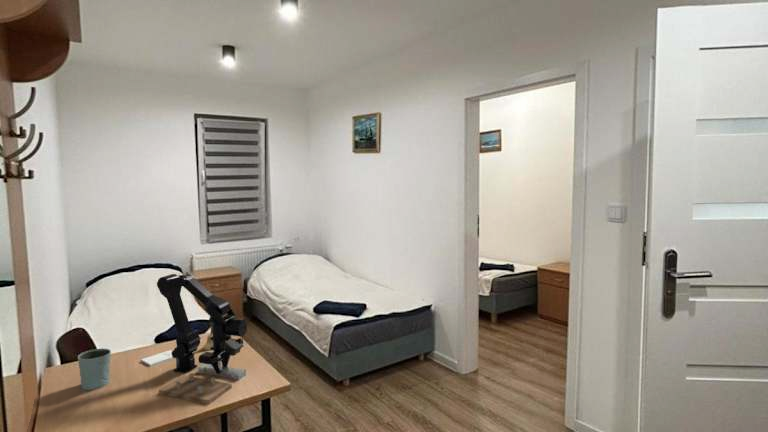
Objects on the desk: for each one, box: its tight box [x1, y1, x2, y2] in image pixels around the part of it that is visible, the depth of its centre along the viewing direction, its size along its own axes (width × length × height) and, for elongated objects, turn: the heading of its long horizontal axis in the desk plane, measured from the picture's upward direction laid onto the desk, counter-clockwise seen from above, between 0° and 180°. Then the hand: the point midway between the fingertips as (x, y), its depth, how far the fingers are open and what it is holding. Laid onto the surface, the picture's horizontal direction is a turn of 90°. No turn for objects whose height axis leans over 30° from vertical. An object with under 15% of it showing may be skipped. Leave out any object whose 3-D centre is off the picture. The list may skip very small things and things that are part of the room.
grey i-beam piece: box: [196, 363, 247, 381], centre depth 166 cm, size 20×4×2 cm, turn 72°
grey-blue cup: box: [77, 348, 112, 391], centre depth 156 cm, size 10×10×12 cm
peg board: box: [158, 372, 233, 405], centre depth 152 cm, size 22×12×4 cm, turn 72°
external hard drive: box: [140, 349, 175, 368], centre depth 179 cm, size 2×8×12 cm
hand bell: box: [202, 315, 213, 351], centre depth 192 cm, size 8×8×16 cm
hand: (221, 371), depth 166 cm, fingers open, 4 cm apart
